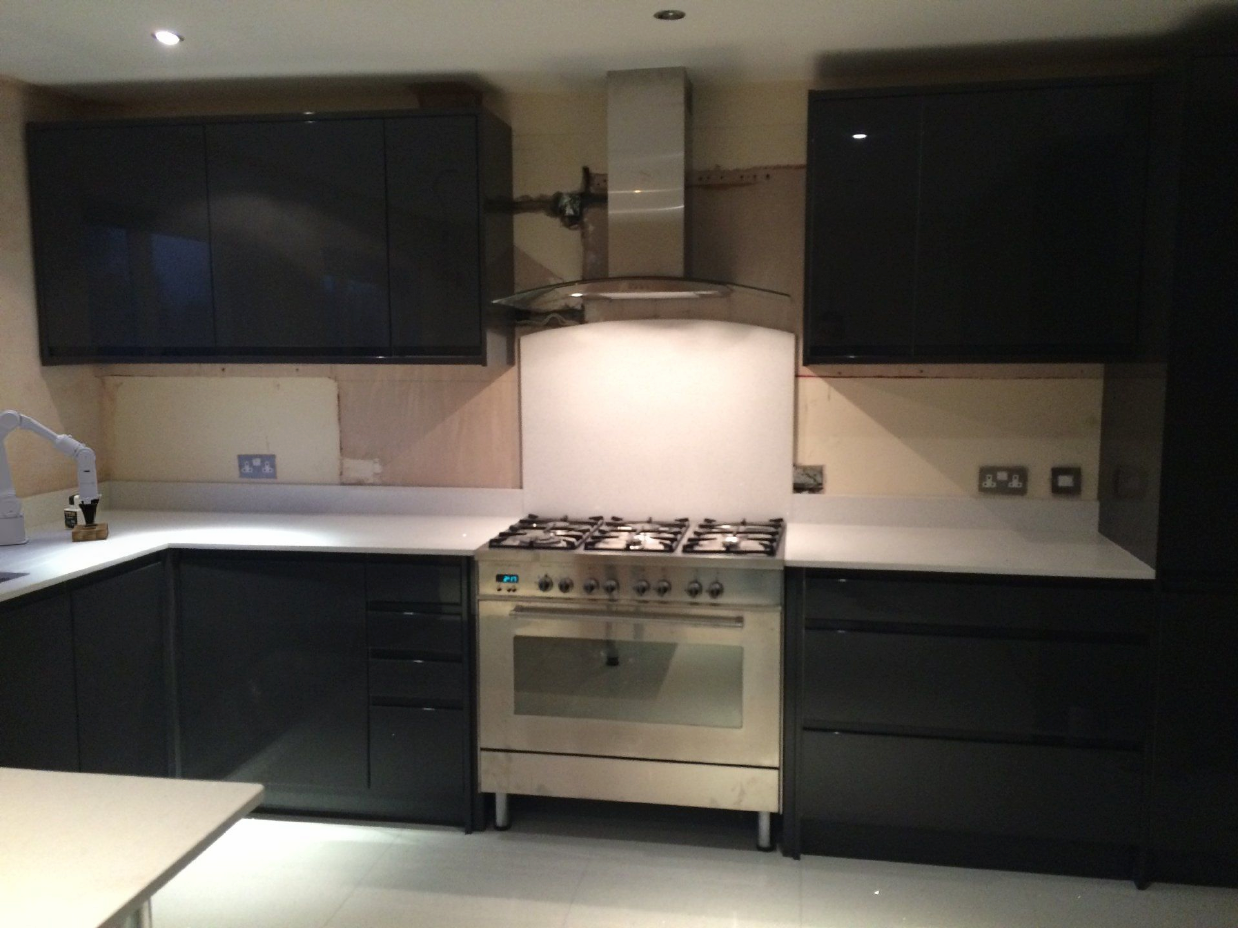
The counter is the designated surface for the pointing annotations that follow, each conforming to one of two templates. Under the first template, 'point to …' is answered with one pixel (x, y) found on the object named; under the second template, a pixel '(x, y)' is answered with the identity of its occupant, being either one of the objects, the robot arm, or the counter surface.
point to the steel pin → (91, 524)
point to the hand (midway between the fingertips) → (90, 522)
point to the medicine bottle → (74, 513)
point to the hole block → (90, 532)
